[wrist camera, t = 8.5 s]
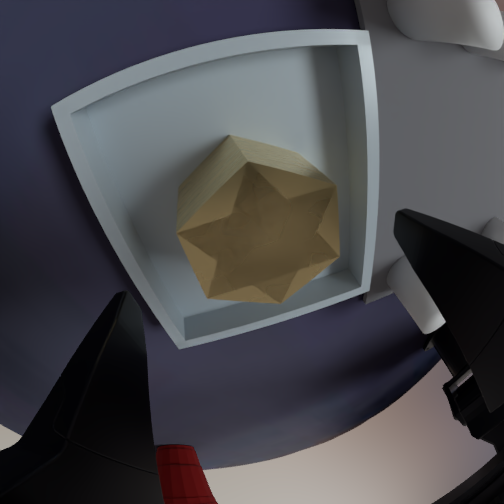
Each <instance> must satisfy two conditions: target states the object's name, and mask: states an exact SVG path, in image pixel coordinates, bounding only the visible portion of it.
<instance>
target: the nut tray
mask: <svg viewBox="0 0 504 504" xmlns="http://www.w3.org/2000/svg"><path fill="white" fill-rule="evenodd" d="M51 109H52V112H53V115H54V118H55V121H56V124H57V127H58V130H59V132H60V135H61V138H62V140H63V143H64V145H65V148H66V150H67V153H68V155H69V158H70V160H71V163H72V165H73V167H74V170H75V172H76V174H77V177H78V179H79V181H80V183H81V185H82V188H83V190H84V192H85V194H86V196H87V198H88V200H89V202H90V205H91V207H92V209H93V211H94V213H95V215H96V217H97V218H98V220H99V222H100V224H101V226H102V228H103V230H104V232H105V234H106V236H107V237H108V239H109V241H110V243H111V245H112V247H113V248H114V250H115V252H116V254H117V255H118V257H119V259H120V261H121V262H122V264H123V266H124V267H125V269H126V271H127V272H128V274H129V276H130V277H131V279H132V281H133V282H134V284H135V285H136V287H137V289H138V290H139V292H140V293H141V295H142V296H143V298H144V299H145V301H146V303H147V304H148V306H149V307H150V309H151V310H152V312H153V313H154V315H155V316H156V317H157V319H158V320H159V322H160V323H161V325H162V326H163V328H164V329H165V330H166V332H167V333H168V335H169V336H170V337H171V339H172V340H173V342H174V343H175V344H176V346H177V347H178V348H179V349H182V348H187V347H191V346H195V345H199V344H203V343H207V342H211V341H215V340H219V339H222V338H226V337H230V336H234V335H237V334H241V333H244V332H248V331H251V330H255V329H258V328H262V327H265V326H268V325H272V324H275V323H278V322H281V321H285V320H288V319H291V318H294V317H297V316H300V315H303V314H306V313H309V312H312V311H315V310H318V309H321V308H324V307H327V306H330V305H332V304H335V303H338V302H341V301H343V300H346V299H349V298H352V297H354V296H357V295H360V294H362V293H365V292H367V291H369V290H370V283H371V276H372V268H373V260H374V251H375V241H376V230H377V216H378V198H379V121H378V104H377V91H376V81H375V71H374V63H373V56H372V49H371V42H370V36H369V31H365V30H347V29H309V30H291V31H279V32H269V33H261V34H253V35H247V36H241V37H235V38H229V39H224V40H219V41H215V42H210V43H206V44H202V45H198V46H194V47H190V48H186V49H183V50H179V51H176V52H172V53H169V54H166V55H163V56H160V57H157V58H154V59H151V60H148V61H145V62H142V63H140V64H137V65H134V66H132V67H129V68H127V69H124V70H122V71H120V72H117V73H115V74H113V75H110V76H108V77H106V78H104V79H102V80H99V81H97V82H95V83H93V84H91V85H89V86H87V87H85V88H83V89H81V90H79V91H77V92H76V93H74V94H72V95H70V96H68V97H66V98H65V99H63V100H61V101H59V102H58V103H56V104H54V105H53V106H51ZM229 135H234V136H238V137H242V138H246V139H250V140H254V141H258V142H262V143H266V144H269V145H273V146H277V147H280V148H284V149H287V150H291V151H294V152H297V153H299V154H300V155H301V156H302V157H304V158H305V159H306V160H307V161H309V162H310V163H311V164H312V165H313V166H315V167H316V168H317V169H318V170H319V171H321V172H322V173H323V174H324V175H325V176H327V177H328V178H329V179H330V180H331V181H332V182H334V183H335V184H336V185H337V194H338V212H339V239H340V257H339V258H337V259H336V260H335V261H334V262H333V263H331V264H330V265H329V266H328V267H327V268H325V269H324V270H323V271H322V272H320V273H319V274H318V275H317V276H316V277H314V278H313V279H312V280H311V281H309V282H308V283H307V284H306V285H304V286H303V287H302V288H301V289H299V290H298V291H297V292H295V293H294V294H293V295H292V296H290V297H289V298H288V299H287V300H285V301H284V302H283V303H281V304H275V303H258V302H242V301H229V300H216V299H207V298H206V296H205V294H204V292H203V290H202V288H201V286H200V283H199V281H198V279H197V277H196V275H195V273H194V271H193V269H192V267H191V265H190V262H189V260H188V258H187V256H186V254H185V252H184V249H183V247H182V245H181V243H180V241H179V238H178V236H177V234H176V223H177V202H178V187H179V186H180V185H181V184H182V182H183V181H184V180H185V179H186V178H187V177H188V176H189V175H190V174H191V173H192V172H193V171H194V170H195V169H196V168H197V167H198V166H199V164H200V163H201V162H202V161H203V160H204V159H205V158H206V157H207V156H208V155H209V154H210V153H211V152H212V151H213V150H214V149H215V148H216V147H217V146H218V145H219V144H220V143H221V142H222V141H223V140H224V139H226V138H227V137H228V136H229Z"/></svg>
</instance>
